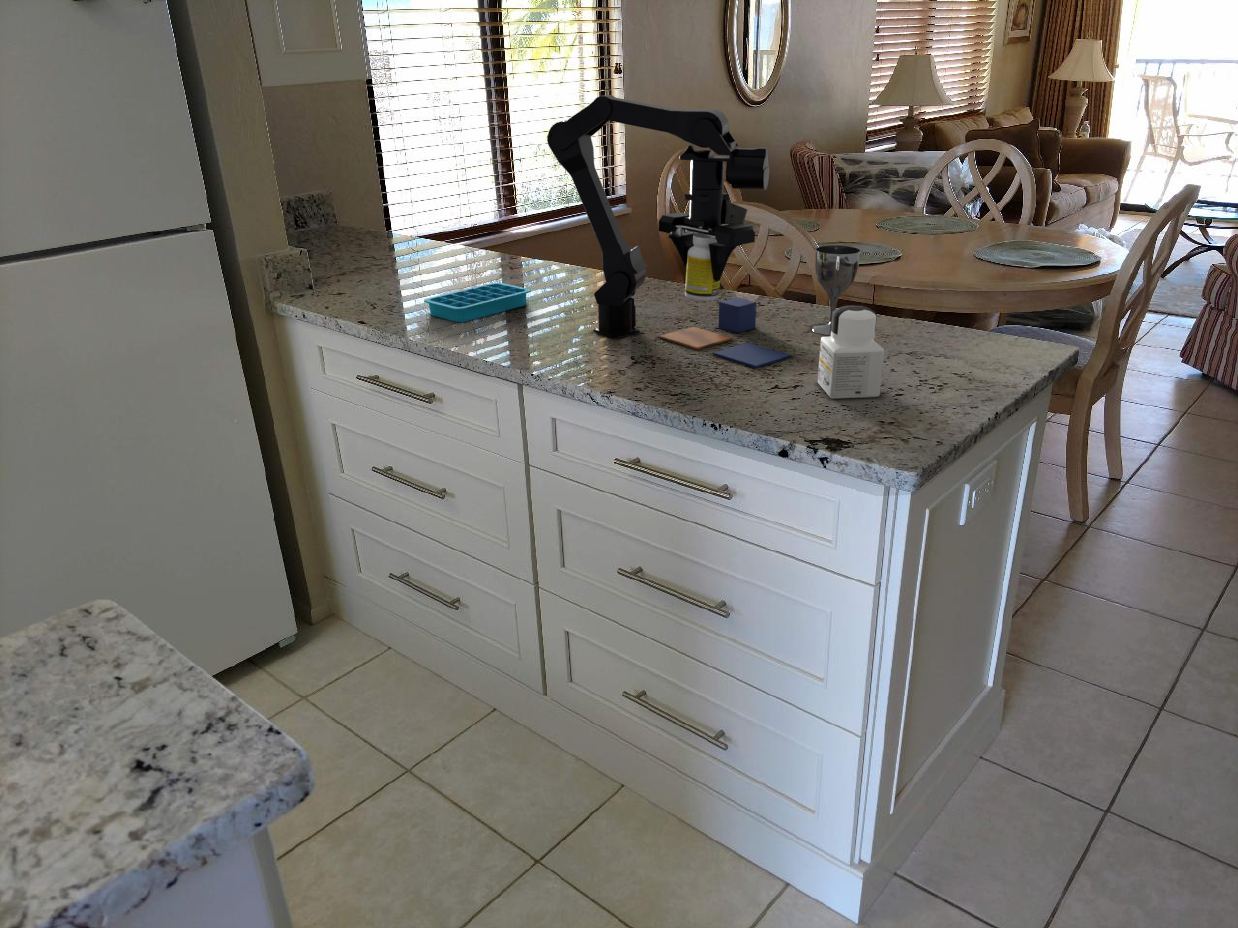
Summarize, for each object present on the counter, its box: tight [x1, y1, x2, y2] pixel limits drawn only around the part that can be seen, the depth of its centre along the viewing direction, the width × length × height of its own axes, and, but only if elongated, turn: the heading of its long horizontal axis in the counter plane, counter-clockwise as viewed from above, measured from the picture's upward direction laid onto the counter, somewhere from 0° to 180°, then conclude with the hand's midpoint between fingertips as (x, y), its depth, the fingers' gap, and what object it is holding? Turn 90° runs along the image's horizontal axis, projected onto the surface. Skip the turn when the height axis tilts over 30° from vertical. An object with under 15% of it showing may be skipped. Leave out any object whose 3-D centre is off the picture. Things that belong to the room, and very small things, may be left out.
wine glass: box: [811, 245, 861, 336], centre depth 177 cm, size 8×8×15 cm
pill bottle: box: [684, 233, 722, 302], centre depth 170 cm, size 6×6×11 cm
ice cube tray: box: [423, 282, 532, 323], centre depth 196 cm, size 12×20×3 cm, turn 138°
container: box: [817, 305, 885, 400], centre depth 147 cm, size 8×8×13 cm
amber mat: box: [658, 326, 733, 350], centre depth 176 cm, size 9×10×1 cm
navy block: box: [717, 297, 757, 334], centre depth 181 cm, size 5×5×5 cm
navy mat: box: [712, 342, 792, 369], centre depth 166 cm, size 9×10×1 cm
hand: (703, 277), depth 171 cm, fingers closed on pill bottle, 6 cm apart
